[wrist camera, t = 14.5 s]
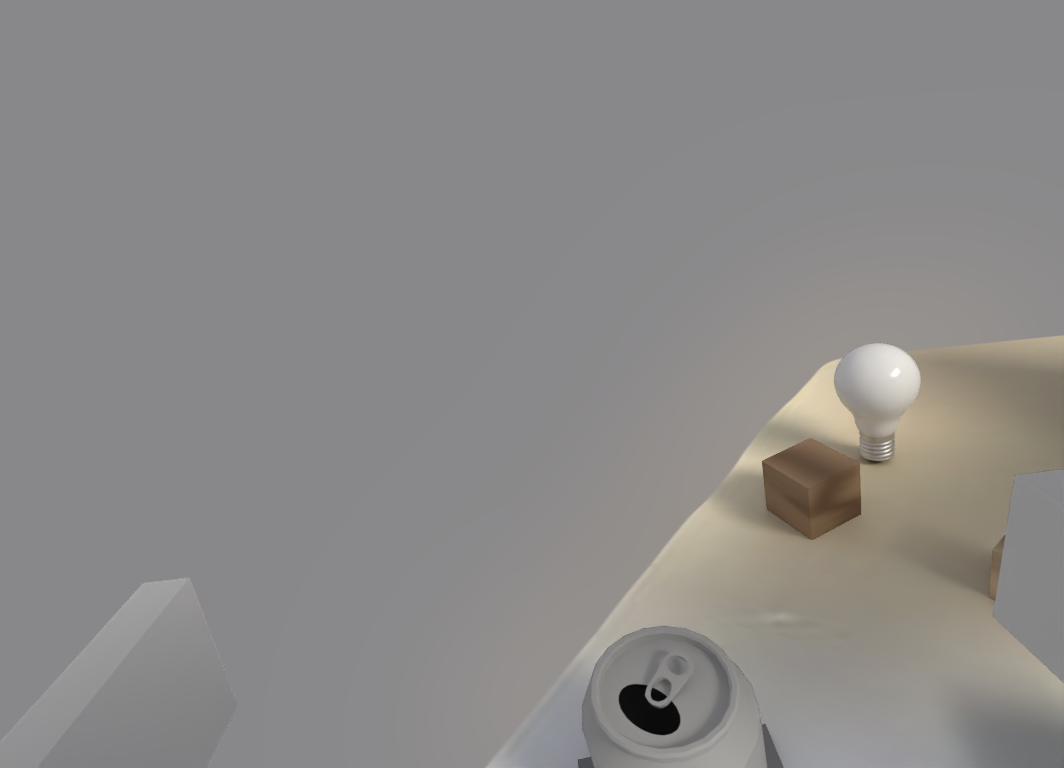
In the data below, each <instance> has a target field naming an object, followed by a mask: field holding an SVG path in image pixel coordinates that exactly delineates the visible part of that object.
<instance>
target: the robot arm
mask: <svg viewBox="0 0 1064 768" xmlns="http://www.w3.org/2000/svg"><path fill="white" fill-rule="evenodd" d="M993 617H994V618H995V619H996V620H997V621H998V622H999V623H1000V624H1002V625H1003V626H1004V627H1005V628H1006V629H1007V630H1008V631H1009V632H1010V633H1011V634H1012V635H1013V636H1014V637H1015V638H1016V639H1017V640H1019V641H1020V642H1021V643H1022V644H1023V645H1024V646H1025V647H1026V648H1027V649H1028V650H1029V651H1030V652H1031V653H1032V654H1033V655H1034V656H1035V657H1037V658H1038V659H1039V660H1040V661H1041V662H1042V663H1043V664H1044V665H1045V666H1046V667H1047V668H1048V669H1049V670H1050V671H1051V672H1052V673H1053V674H1055V675H1056V676H1057V677H1058V678H1059V679H1060V680H1061V681H1062V682H1063V683H1064V469H1060V470H1052V471H1044V472H1036V473H1028V474H1020V475H1015V476H1014V483H1013V489H1012V496H1011V502H1010V509H1009V515H1008V522H1007V528H1006V535H1005V541H1004V548H1003V554H1002V561H1001V567H1000V573H999V580H998V586H997V593H996V599H995V606H994V612H993ZM237 708H238V704H237V701H236V698H235V696H234V693H233V691H232V688H231V685H230V683H229V680H228V677H227V675H226V672H225V670H224V667H223V664H222V662H221V659H220V657H219V654H218V651H217V649H216V646H215V644H214V641H213V638H212V636H211V633H210V631H209V628H208V625H207V623H206V620H205V617H204V615H203V612H202V610H201V607H200V605H199V602H198V600H197V597H196V594H195V591H194V589H193V586H192V584H191V581H190V578H183V579H175V580H166V581H158V582H150V583H143V584H142V585H141V586H140V587H139V589H138V590H137V591H136V592H135V593H134V594H133V595H132V596H131V597H130V599H129V600H128V601H127V602H126V603H125V604H124V605H123V606H122V607H121V608H120V609H119V611H118V612H117V613H116V614H115V615H114V616H113V617H112V618H111V620H110V621H109V622H108V623H107V624H106V625H105V626H104V627H103V628H102V630H101V631H100V632H99V633H98V634H97V635H96V636H95V637H94V638H93V639H92V641H91V642H90V643H89V644H88V645H87V646H86V647H85V648H84V649H83V650H82V652H81V653H80V654H79V655H78V656H77V657H76V659H74V660H73V662H72V663H71V664H70V665H69V666H68V667H67V668H66V669H65V670H64V671H63V673H62V674H61V675H60V676H59V677H58V678H57V679H56V681H54V683H53V684H52V685H51V686H50V687H49V688H48V689H47V690H46V691H45V693H44V694H43V695H42V696H41V697H40V698H39V699H38V700H37V701H36V703H35V704H34V705H33V706H32V707H31V708H30V709H29V710H28V711H27V712H26V714H25V715H24V716H23V717H22V718H21V719H20V720H19V721H18V722H17V724H16V725H15V726H14V727H13V728H12V729H11V730H10V731H9V732H8V734H7V735H6V736H5V737H4V738H3V739H2V740H1V741H0V768H207V766H208V764H209V762H210V760H211V758H212V756H213V754H214V752H215V750H216V748H217V746H218V745H219V743H220V741H221V739H222V737H223V735H224V733H225V731H226V729H227V727H228V725H229V723H230V722H231V719H232V718H233V715H234V713H235V712H236V710H237Z"/></svg>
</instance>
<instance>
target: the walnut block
mask: <svg viewBox="0 0 1064 768" xmlns="http://www.w3.org/2000/svg"><path fill="white" fill-rule="evenodd" d="M762 466H763V476H764V486H765V495H766V505H767V509H768V510H769V511H770V512H772V513H773V514H775V515H776V516H778V517H779V518H781V519H782V520H783V521H785V522H786V523H788V524H789V525H791V526H792V527H794V528H795V529H796V530H798V531H799V532H801V533H802V534H804V535H805V536H807V537H808V538H809V539H811V540H813V539H815V538H817V537H819V536H820V535H822V534H824V533H826V532H828V531H830V530H832V529H834V528H836V527H837V526H839V525H841V524H843V523H845V522H847V521H849V520H851V519H853V518H854V517H856V516H858V515H860V514H861V496H860V463H859V462H857V461H855V460H853V459H851V458H849V457H847V456H845V455H843V454H841V453H839V452H837V451H835V450H833V449H831V448H829V447H827V446H825V445H823V444H821V443H819V442H817V441H815V440H813V439H811V438H809V439H807V440H805V441H803V442H801V443H799V444H797V445H795V446H792V447H790V448H788V449H786V450H784V451H782V452H780V453H778V454H776V455H774V456H771V457H769V458H767V459H765V460H763V461H762Z"/></svg>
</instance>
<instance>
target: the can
mask: <svg viewBox="0 0 1064 768" xmlns="http://www.w3.org/2000/svg"><path fill="white" fill-rule="evenodd" d="M582 730H583V733H584V736H585V739H586V742H587V746H588V749H589V752H590V755H591V758H592V762H593V765H594V768H767V762H766V754H765V746H764V739H763V731H762V724H761V716H760V710H759V707H758V704H757V700H756V697H755V694H754V690H753V687H752V685H751V684H750V683H749V681H748V680H747V678H746V677H745V676H744V674H743V673H742V671H741V670H740V668H739V667H738V666H737V665H736V664H735V663H733V662H732V661H731V660H730V659H729V658H728V657H727V655H726V654H725V652H724V651H723V650H722V649H721V648H720V647H719V646H717V645H716V644H715V643H713V642H712V641H711V640H709V639H708V638H707V637H705V636H703V635H700V634H698V633H695V632H693V631H690V630H688V629H685V628H677V627H669V626H660V627H652V628H643V629H641V630H638V631H636V632H633V633H631V634H628V635H626V636H623V637H622V638H621V639H619V640H618V641H617V642H615V643H614V644H613V645H611V646H610V647H609V648H607V650H606V651H605V652H604V654H603V655H602V657H601V658H600V659H599V661H598V662H597V663H596V665H595V668H594V671H593V674H592V677H591V680H590V683H589V686H588V689H587V692H586V695H585V698H584V701H583V704H582Z"/></svg>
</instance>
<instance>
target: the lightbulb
mask: <svg viewBox="0 0 1064 768" xmlns="http://www.w3.org/2000/svg"><path fill="white" fill-rule="evenodd" d="M834 386H835V390H836V393H837V396H838V398H839V399H840V401H841V402H842V403H843V405H844V406H845V407H846V408H847V409H848V410H849V411H850V412H851V414H852V415H853V417H854V420H855V424H856V426H857V428H858V430H859V434H860V454H861V455H862V456H863V457H864V458H866V459H869V460H873V461H884V460H888V459H890V458H892V457H893V456H894V450H895V448H894V446H895V444H894V442H895V440H894V438H895V431H896V429H897V427H898V425H899V421H900V418H901V416H902V414H903V413H904V412H905V411H906V410H907V409H908V408H909V407H910V406H911V405H912V403H913V402H914V401H915V399H916V398H917V396H918V393H919V391H920V386H921V375H920V371H919V368H918V366H917V364H916V362H915V361H914V359H913V358H912V357H911V356H910V355H909V354H908V353H907V352H905V351H904V350H902V349H900V348H898V347H896V346H893V345H889V344H885V343H871V344H866V345H862V346H859V347H857V348H855V349H853V350H852V351H850V352H849V353H848V354H847V355H845V356H844V357H843V359H842V360H841V361H840V363H839V364H838V366H837V369H836V372H835V376H834Z"/></svg>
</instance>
